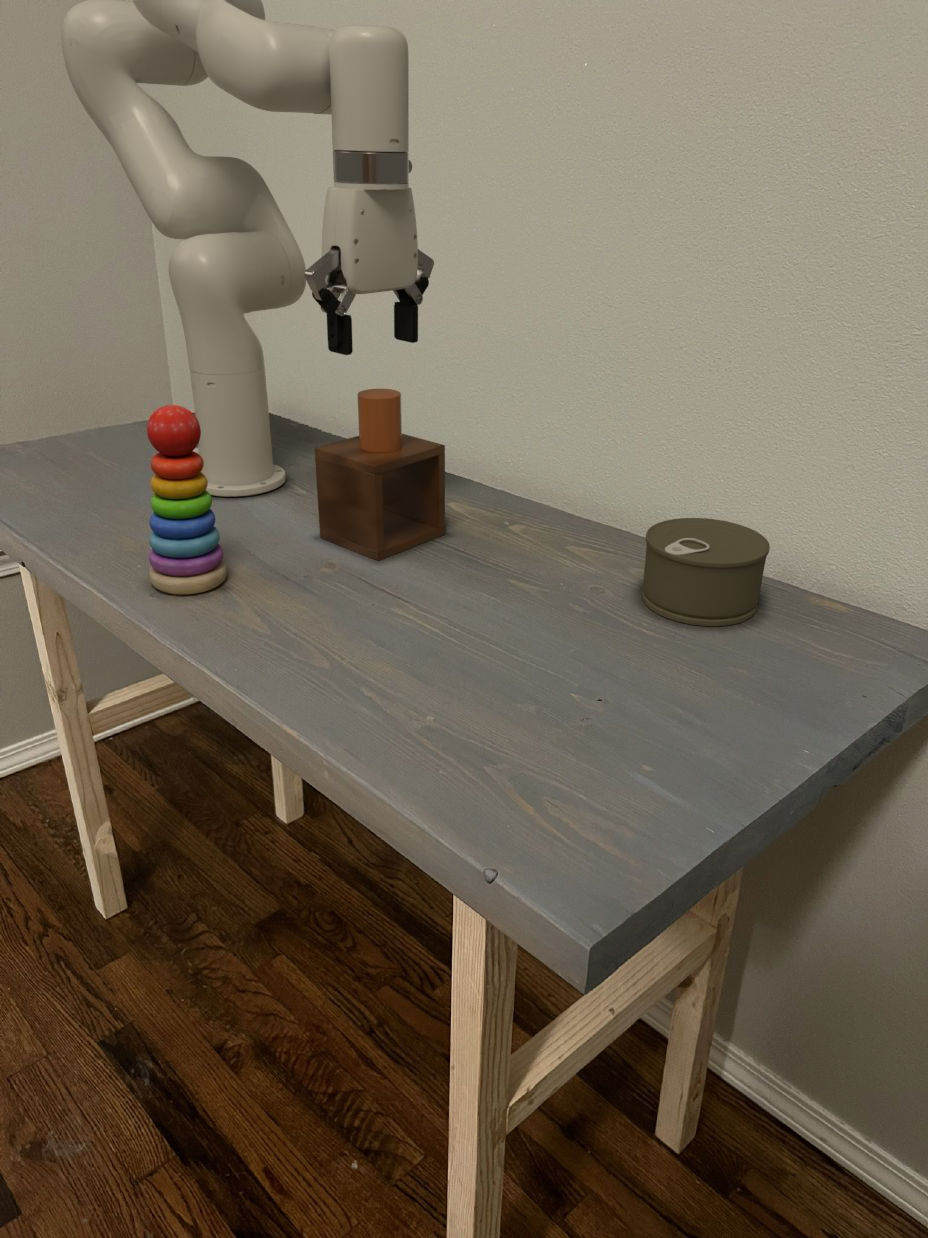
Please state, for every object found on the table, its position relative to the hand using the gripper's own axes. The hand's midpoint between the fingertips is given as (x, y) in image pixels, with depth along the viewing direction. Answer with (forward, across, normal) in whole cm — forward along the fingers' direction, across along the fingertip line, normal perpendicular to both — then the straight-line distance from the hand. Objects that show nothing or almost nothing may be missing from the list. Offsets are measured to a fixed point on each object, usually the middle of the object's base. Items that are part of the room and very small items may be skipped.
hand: (374, 346), depth 101 cm
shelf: (+22, 0, +1) cm, 22 cm away
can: (+21, -10, +38) cm, 44 cm away
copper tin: (+11, 0, +1) cm, 11 cm away
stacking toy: (+22, +23, -4) cm, 32 cm away
